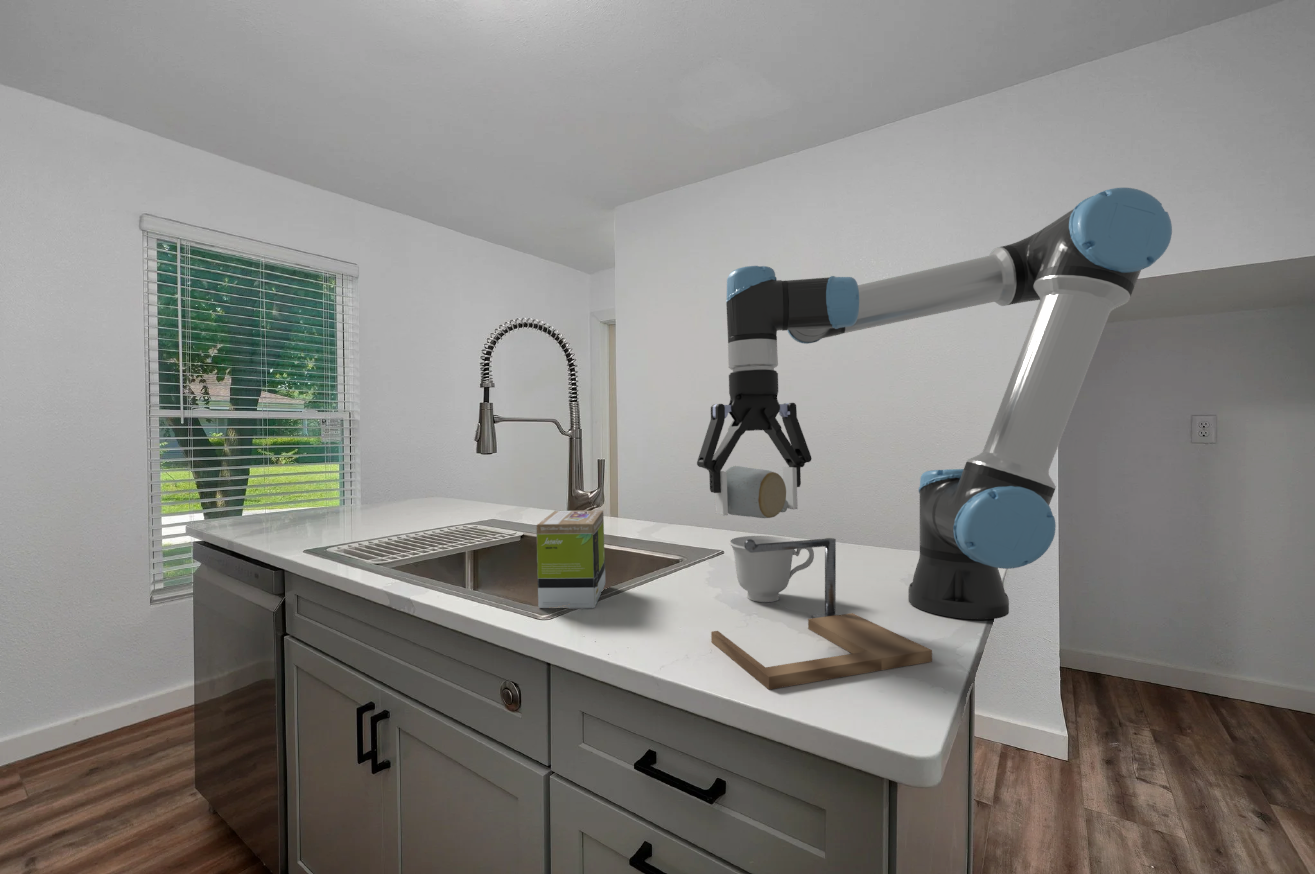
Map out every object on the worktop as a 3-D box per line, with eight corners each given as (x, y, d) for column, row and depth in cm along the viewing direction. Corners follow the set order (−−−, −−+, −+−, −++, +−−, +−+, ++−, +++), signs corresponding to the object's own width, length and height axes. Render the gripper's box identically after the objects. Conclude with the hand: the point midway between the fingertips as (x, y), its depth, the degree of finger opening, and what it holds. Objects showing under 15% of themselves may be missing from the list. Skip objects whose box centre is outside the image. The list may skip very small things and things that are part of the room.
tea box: (554, 585, 113) (554, 509, 113) (606, 585, 113) (605, 509, 113) (536, 609, 98) (535, 521, 98) (595, 610, 98) (595, 522, 98)
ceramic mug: (762, 522, 84) (761, 468, 84) (717, 517, 90) (717, 467, 90) (801, 514, 92) (800, 465, 92) (757, 510, 98) (757, 464, 98)
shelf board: (852, 622, 91) (852, 613, 91) (931, 661, 76) (932, 650, 76) (711, 642, 83) (711, 631, 83) (768, 689, 68) (768, 676, 68)
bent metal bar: (833, 616, 94) (833, 530, 94) (849, 624, 90) (849, 534, 90) (738, 629, 88) (738, 537, 88) (751, 637, 85) (751, 542, 84)
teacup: (820, 609, 98) (820, 549, 98) (730, 607, 99) (730, 548, 99) (808, 589, 110) (808, 536, 110) (728, 587, 111) (728, 535, 111)
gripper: (804, 373, 98) (808, 503, 98) (672, 372, 90) (676, 514, 90) (832, 368, 91) (836, 508, 91) (691, 367, 83) (696, 520, 83)
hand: (756, 511), depth 91 cm, fingers closed on ceramic mug, 11 cm apart
